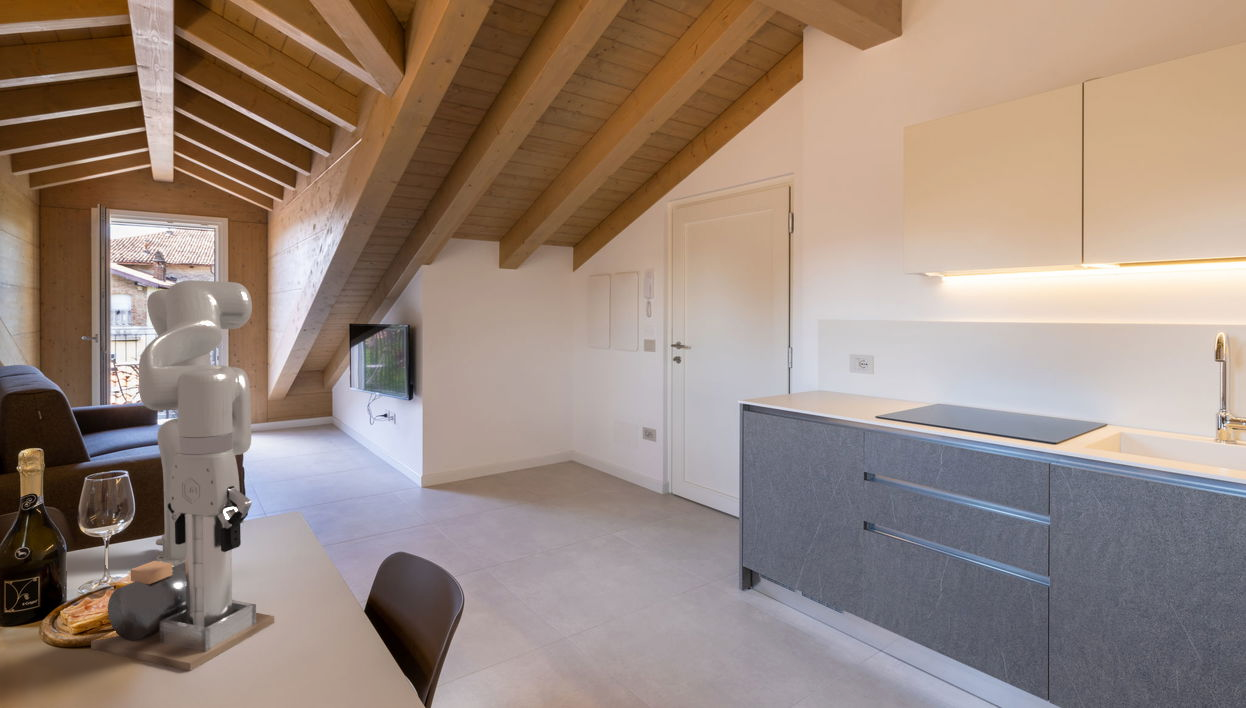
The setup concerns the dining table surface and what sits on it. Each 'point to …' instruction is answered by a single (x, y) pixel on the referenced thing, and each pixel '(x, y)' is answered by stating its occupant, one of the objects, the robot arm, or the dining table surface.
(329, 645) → the dining table surface
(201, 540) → the silver tall cylinder
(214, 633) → the motor mount
